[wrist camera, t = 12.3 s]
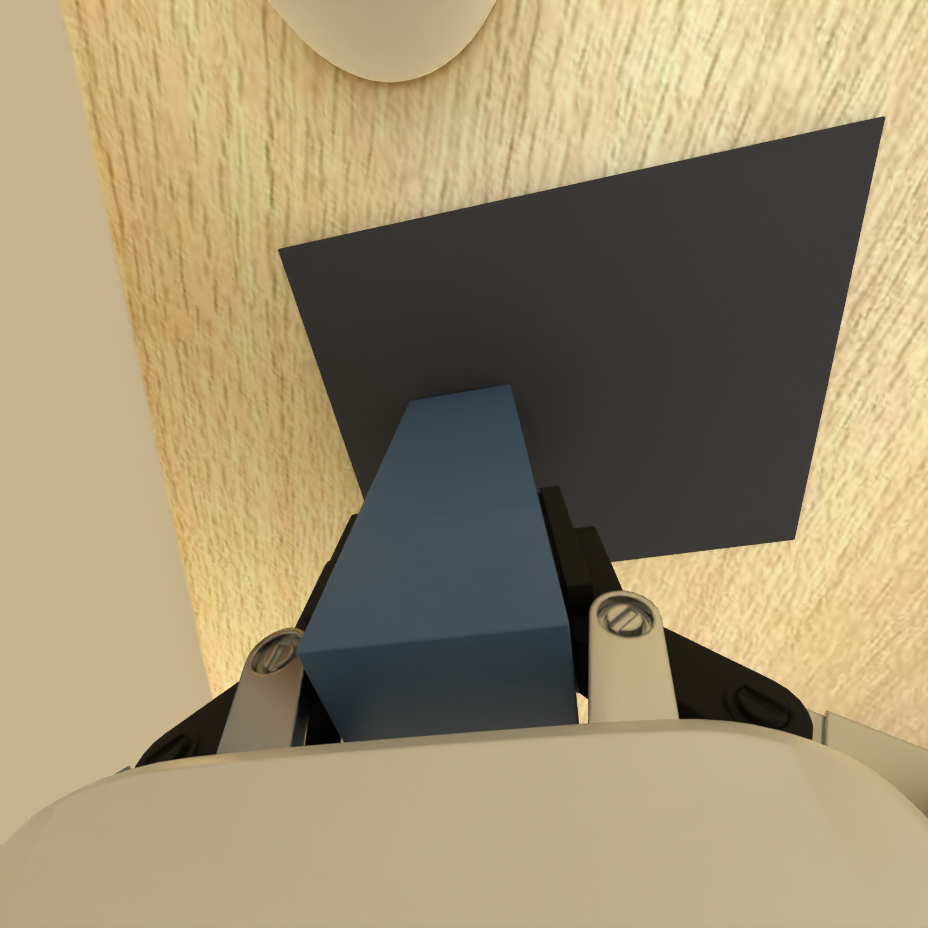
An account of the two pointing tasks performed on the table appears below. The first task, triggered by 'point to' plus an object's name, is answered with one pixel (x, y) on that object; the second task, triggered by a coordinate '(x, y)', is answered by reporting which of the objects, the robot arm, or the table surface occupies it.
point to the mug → (385, 33)
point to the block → (445, 587)
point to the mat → (616, 332)
